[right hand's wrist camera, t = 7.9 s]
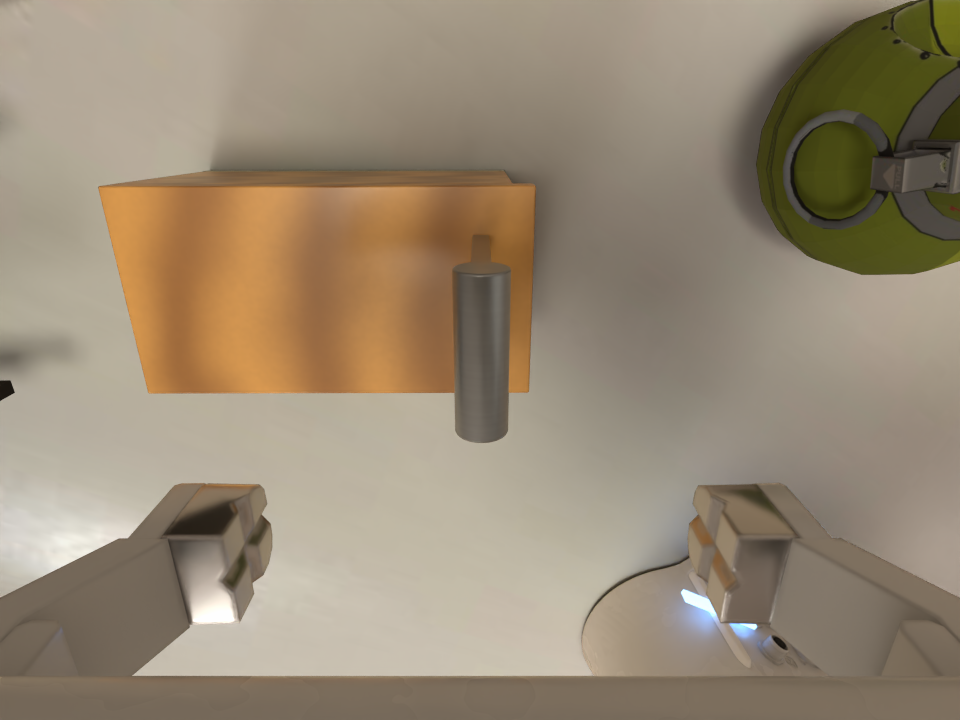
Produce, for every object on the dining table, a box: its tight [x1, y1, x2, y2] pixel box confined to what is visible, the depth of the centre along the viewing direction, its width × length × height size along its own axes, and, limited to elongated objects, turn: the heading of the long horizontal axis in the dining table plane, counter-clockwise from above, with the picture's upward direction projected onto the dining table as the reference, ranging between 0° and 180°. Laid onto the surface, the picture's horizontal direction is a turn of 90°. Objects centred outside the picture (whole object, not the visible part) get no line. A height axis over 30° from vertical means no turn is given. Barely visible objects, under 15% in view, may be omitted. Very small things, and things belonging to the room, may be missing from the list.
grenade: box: [756, 0, 960, 275], centre depth 25 cm, size 12×12×15 cm
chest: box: [118, 170, 512, 184], centre depth 30 cm, size 17×9×9 cm, turn 90°
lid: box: [99, 183, 536, 443], centre depth 22 cm, size 18×9×9 cm, turn 90°
